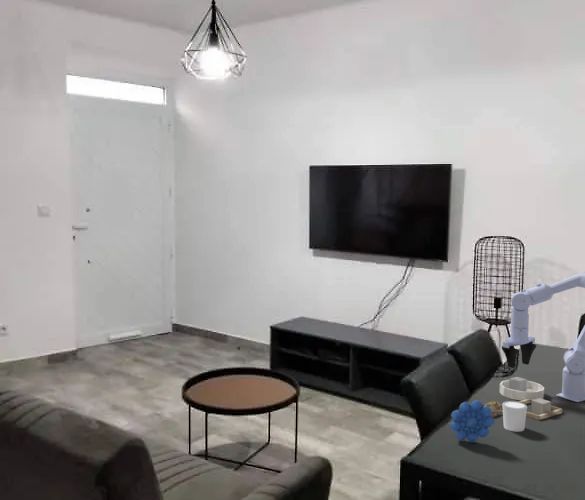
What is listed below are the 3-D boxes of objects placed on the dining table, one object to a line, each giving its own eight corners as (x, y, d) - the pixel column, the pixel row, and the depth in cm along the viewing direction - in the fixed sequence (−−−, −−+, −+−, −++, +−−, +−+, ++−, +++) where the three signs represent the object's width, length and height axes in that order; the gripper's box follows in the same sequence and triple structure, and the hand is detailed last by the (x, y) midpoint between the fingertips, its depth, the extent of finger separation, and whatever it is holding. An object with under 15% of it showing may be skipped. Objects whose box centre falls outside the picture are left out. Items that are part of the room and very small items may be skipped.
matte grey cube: (516, 387, 209) (516, 376, 208) (526, 390, 205) (526, 379, 205) (509, 389, 207) (509, 378, 206) (519, 392, 203) (519, 381, 203)
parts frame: (529, 401, 196) (529, 398, 196) (562, 412, 185) (563, 409, 185) (505, 408, 189) (505, 404, 189) (538, 420, 179) (538, 416, 179)
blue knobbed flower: (494, 439, 165) (495, 397, 164) (493, 448, 158) (494, 405, 158) (451, 433, 169) (452, 392, 168) (448, 442, 162) (449, 400, 162)
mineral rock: (482, 398, 193) (506, 396, 188) (485, 411, 193) (509, 410, 188) (469, 408, 184) (494, 407, 179) (473, 422, 184) (498, 421, 179)
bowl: (517, 385, 213) (517, 377, 213) (552, 396, 201) (552, 387, 201) (491, 392, 206) (491, 383, 206) (526, 403, 194) (526, 394, 194)
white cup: (526, 425, 175) (526, 402, 175) (527, 433, 169) (527, 409, 168) (501, 422, 177) (502, 399, 177) (501, 430, 171) (502, 407, 170)
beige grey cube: (539, 410, 188) (539, 398, 188) (550, 414, 185) (550, 401, 184) (531, 412, 186) (531, 400, 186) (542, 416, 183) (543, 404, 182)
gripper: (523, 322, 211) (522, 360, 212) (496, 327, 204) (495, 365, 205) (540, 326, 205) (539, 364, 206) (513, 331, 198) (512, 370, 199)
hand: (518, 365), depth 205 cm, fingers open, 7 cm apart
